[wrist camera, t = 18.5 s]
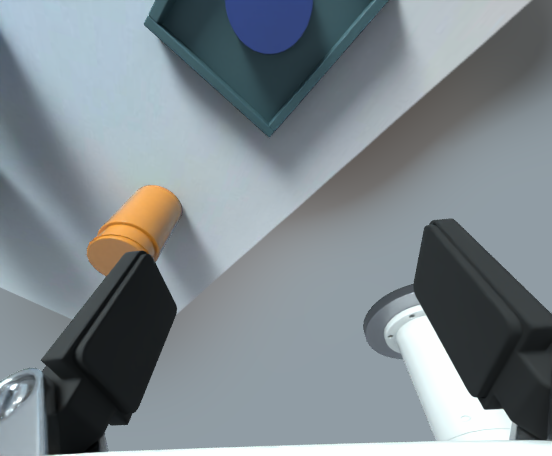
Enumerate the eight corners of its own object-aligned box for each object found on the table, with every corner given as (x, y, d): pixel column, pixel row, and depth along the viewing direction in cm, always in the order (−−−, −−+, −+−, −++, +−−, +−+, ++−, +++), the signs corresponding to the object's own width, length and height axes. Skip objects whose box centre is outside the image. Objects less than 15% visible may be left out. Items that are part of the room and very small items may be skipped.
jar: (172, 181, 32) (133, 231, 23) (188, 223, 35) (160, 280, 27) (124, 188, 32) (69, 239, 24) (145, 229, 36) (104, 286, 27)
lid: (225, -53, 20) (219, -64, 18) (314, -52, 20) (318, -62, 18) (232, 53, 24) (227, 54, 22) (307, 54, 24) (310, 55, 22)
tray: (269, -206, 17) (269, -232, 15) (395, -14, 22) (404, -18, 20) (152, 25, 23) (142, 24, 22) (269, 132, 29) (269, 138, 27)
